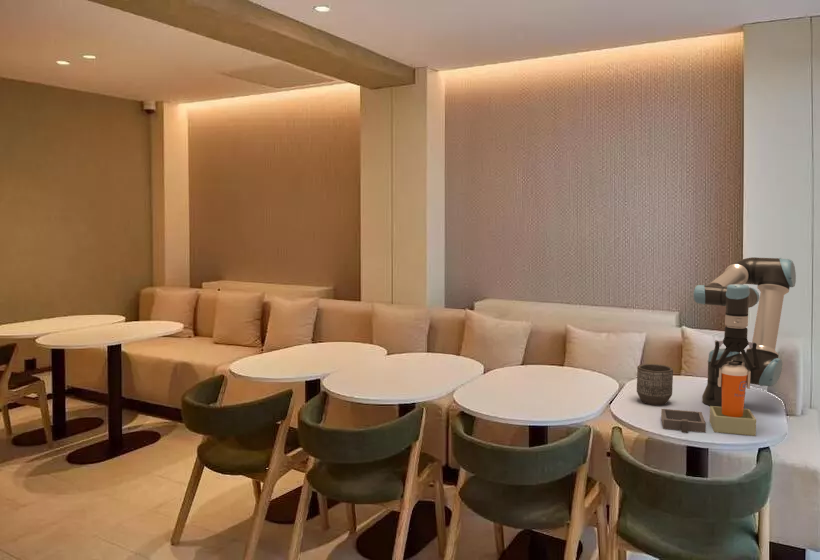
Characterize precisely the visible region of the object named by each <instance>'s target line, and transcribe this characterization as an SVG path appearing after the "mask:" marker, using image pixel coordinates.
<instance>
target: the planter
mask: <svg viewBox="0 0 820 560" xmlns="http://www.w3.org/2000/svg"><path fill="white" fill-rule="evenodd" d="M636 368H637V371H636V375H637V376H636V394H637V395H638V397H639V399H640V401H641V402H642V403H644V404H646V405H652V406H664V405H666V404H667V403H668V402H669V401H670V399H671V397H672V396H673V381H674V379H673V378H674V368H673V367H671V366H669V365H664V364H658V363H657V364H655V363H654V364H653V363H643V364H639V365H637V367H636Z"/></svg>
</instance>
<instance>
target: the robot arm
mask: <svg viewBox="0 0 820 560" xmlns="http://www.w3.org/2000/svg"><path fill="white" fill-rule="evenodd" d="M796 274H797V272H796V267H795V264H794V261H793V260H792V259H790V258H782V257H779V258H777V257H775V258H774V257H747V258H742V259H740V260H737V261H733V262H732V263H731V264H730V265H728V266H727V267H726V268H725V270H724V271H723V273H721V274H719V276H717V277H716V278H715V279H713V280H712V281H711V282H710V283H708V284H707V285H705V284H698V285H696V286H695V287H694V290H693V296H692V297H693V301H694V302H695V304H699V305H703V306H704V305H705V306H707V305H708V306H716V307H717V306H718V307H719V306H720V307H725V313H724V314H725V315H724V325H725V326H724V335H723V336H724V337H723V339H722V340H717V339H715V341H714V348H713V349H712V350H711V351H709V353H708V360H707V383H706V386H705V389H704V391H703V394H702V398H701V401H702V403H703V404H705V405H707V406H709V407H710V406H717V407H722V374H721V371H722V370H721V367H722V366H723V365H725V364H728V363H727V362H728V361H732V360H737V361H743V362H744V363H745V367H746V368H747V370H748V375H747V380H746V389H747V390H750V389H751V385H757V386H761V387H773V386H775V385H776V384H777V383H778V382H779V380H780V376H781V374H782V372H783V371H782V370H783V361H782V359H781V358H780V357H779V353H778V352H777V351H776V346H777V339H778V334H779V328H780V322H781V317H782V315H781V314H782V310H783V304H784V297H785V295H787V294H788V293H789V292H790V288H794V287H795V286H796V282H797V280H796V279H797V278H796V277H797V275H796ZM749 285H756V286H757V289H758V290H757V289H756V288H754V287H751V286H749ZM758 291H759V292H758ZM759 293H760V294H759ZM756 304H758V305H757V311H756V317H755V323H754V328H753V336H752V341H748V331H749V330H748V328H747V327H749V326H748V325H749V309H750V308H753V307H754V306H756ZM722 345H724V347H725V348H721V347H722ZM748 346H749V347H748ZM747 347H748V348H747ZM745 349H746V351H745Z"/></svg>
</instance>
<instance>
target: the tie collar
mask: <svg viewBox="0 0 820 560" xmlns="http://www.w3.org/2000/svg"><path fill="white" fill-rule="evenodd" d="M660 411H661V412H660V415H661V416H660V418H661V425H662V429H663V430H673V431H681V433H682V434H683V433H684V434H685V433H686V434H688V433H689V432H695V433H696V432H697V433H703V434H705V433H706V429H707V428H706V427H707V426H706V425H707V423H706V420H705V417H704V415H703V413H702V411H695V410H694V411H693V410H682V409H681V410H680V409H671V408H669V409H667V408H661V410H660Z"/></svg>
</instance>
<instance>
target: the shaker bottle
mask: <svg viewBox="0 0 820 560" xmlns="http://www.w3.org/2000/svg"><path fill="white" fill-rule="evenodd" d="M727 363H728V364H725V365H723V366H722V367H721V370H722V371H721V374H722V414H723V415H725V416H729V417H742V416H743V410H744V409H745V399H746V389H747V387H746V380H747V375H748V370H747V368H746V367H745V363H744V362H743V361H737V360H732V361H728V362H727Z"/></svg>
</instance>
